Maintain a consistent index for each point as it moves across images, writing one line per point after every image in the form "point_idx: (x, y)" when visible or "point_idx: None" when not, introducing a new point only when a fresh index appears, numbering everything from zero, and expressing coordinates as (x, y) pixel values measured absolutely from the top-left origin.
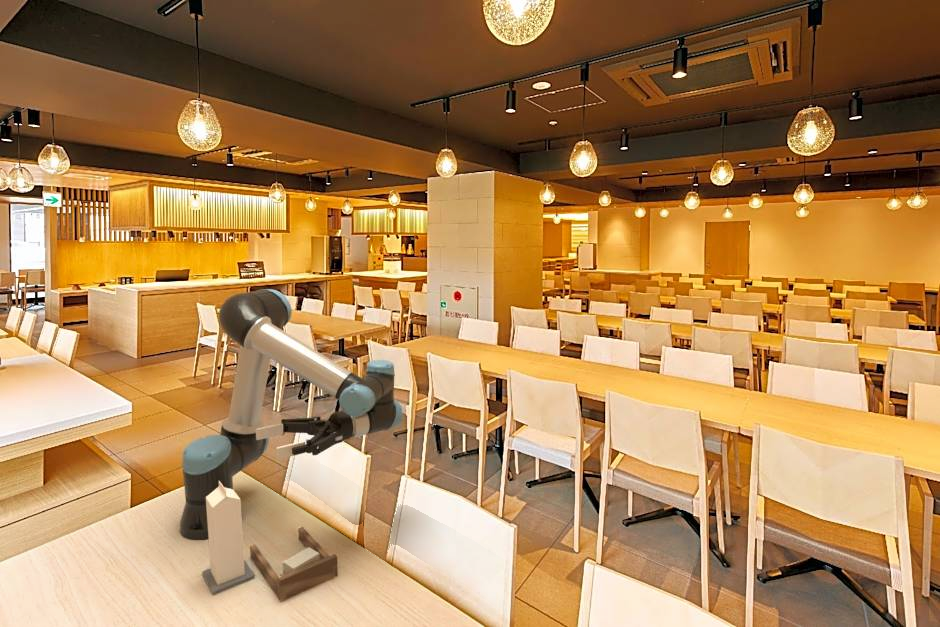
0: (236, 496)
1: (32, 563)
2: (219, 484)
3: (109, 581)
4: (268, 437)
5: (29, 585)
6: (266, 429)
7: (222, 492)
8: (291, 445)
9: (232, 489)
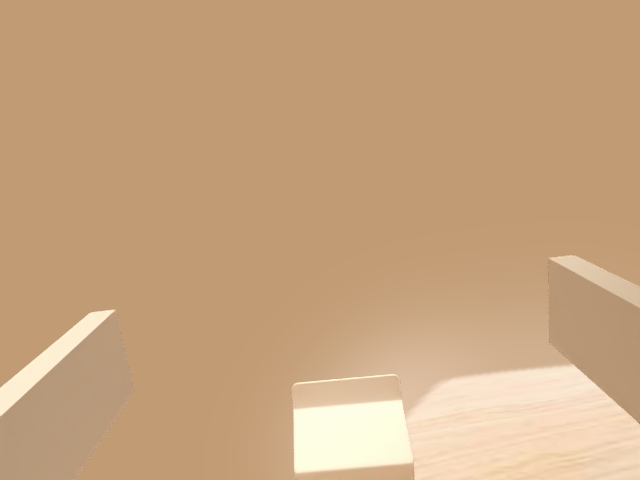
0: (320, 458)
1: None
2: (386, 386)
3: (492, 459)
4: (603, 389)
5: (526, 384)
6: (591, 299)
7: (338, 403)
8: (26, 367)
9: (407, 458)
